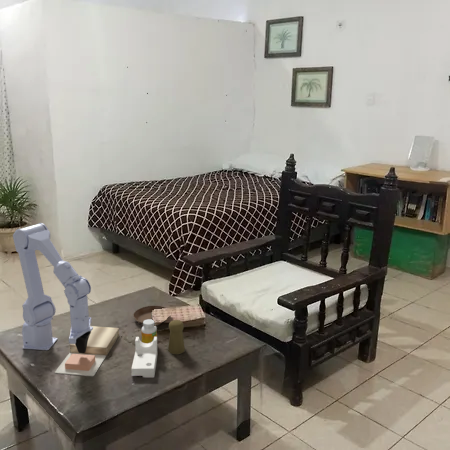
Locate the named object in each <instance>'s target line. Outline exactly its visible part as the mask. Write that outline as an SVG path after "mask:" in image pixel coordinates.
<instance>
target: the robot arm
mask: <svg viewBox="0 0 450 450" xmlns="http://www.w3.org/2000/svg"><path fill="white" fill-rule="evenodd" d="M12 238H13V244H14V247H15V251H16V252H17V253H18V258H19V263H20V266H21V271H22V275H23V280H24V284H25V285H24V286H25V289H26V293H27V298H26V300H25V301H24V302H23V304H22V318H23V321H24V323H23V324H22V328H21V334H22V343H23V346H22V349H25V350H37V351H49V350H50V349H51V348H52V347H53V345H55V343H56V342H57V341H58V337H53V327H52V320H54V317H53V316H55V315H56V306H55V304H54V302H53V300H52V297H51V296H49V295H47V294H45V292H44V291H45V290H44V288H43V282H42V277H41V273H40V269H39V264H38V259H37V254H36V251H39V252H40V253H41V254H42V256H44V258H46V260H47V261H48V262H49V263H50V264H51V265H52V267H53V274H54V275H55V277H56V278H57V279H58V280H59V282H60V283H61V285H62V286H63V287H64V290H63V292H64V296H65V298H66V299H67V303H68V305H69V315H70V317H69V318H70V326H71V327H70V333H69V337H68V344H69V345H70V344H75V345H76V347H77V350H78V352H79V353H80V354H81V353H85V352H86V348H87V343H88V338H89V336H90V333H91V331H92V330H93V327H91V326H92V325H91V324H92V316H91V317H90V316H89V301H88V300H89V299H88V295H89V294H91V291H92V287H91V286H92V285H91V283H90V281H89V280H88V279H87V278H85V277H83V276H82V275H79V274H78V272H77V271H76V270H75V269H74V267H73V266H72V264H71V263H70V262H69V261H66V260H64V259H63V257H61V255H60V253H59V251H58V250H57V248H56V246H55V245H54V243H53V242H52V240H51V231H50V230H49V228H48V227H47V225H46V224H45V223H43V222H39V223H37V224H33V225H29V226H26V227H22V228H17V229H16V230H15V231H14V233H13V234H12Z"/></svg>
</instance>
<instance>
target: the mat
mask: <svg viewBox="0 0 450 450" xmlns="http://www.w3.org/2000/svg"><path fill="white" fill-rule="evenodd" d="M71 354H81V353H70V352H69V353H68V354H67V355H66V357H65V358H64V359H63V361H62V362H61V363H60V364H59V366H58V367H57V369H55V371H54V374H57V375H58V374H61V375H70V376H71V375H72V376H86V377H95V375H96V373H97V372H98V371H99V368H100V367H101V365H102V363H103V362H104V361H105V359H106V358H107V355H95V362H94V364H93V365H92V367H91V368H90V370H89V371H86V370H73V369H65V362H66V361H67V360H68V358H69V357H70V356H71ZM83 355H94V354H83Z"/></svg>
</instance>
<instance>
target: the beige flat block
mask: <svg viewBox="0 0 450 450" xmlns="http://www.w3.org/2000/svg"><path fill="white" fill-rule="evenodd" d="M90 326H91V327H93V330H92V331H91V333H90V336H89V338H88V343H87V348H86V352H85V353H80V354H93V355H106V356H108V354H109V353H110V351H111V350H112V347H113V346H114V345H115V343H116V341H117V340H118V338H119V337H120V328H119V327H108V326H95V325H90ZM69 353H79V352H78V350H77V347H76V345H75V344H70V343H69Z"/></svg>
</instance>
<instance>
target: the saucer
mask: <svg viewBox="0 0 450 450" xmlns="http://www.w3.org/2000/svg"><path fill="white" fill-rule="evenodd" d="M162 308H166V307H165V306H161V305H147V306H146V305H145V306H143V307H140V308H137V309H136V310H135V311H134V312H133V314H132V315H133V316H132V317H133V319H134V320H135V321H136V322H137V323H139V325H142V326H143V321H144V320H147V319H151V312H152V310H154V309H162Z"/></svg>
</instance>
